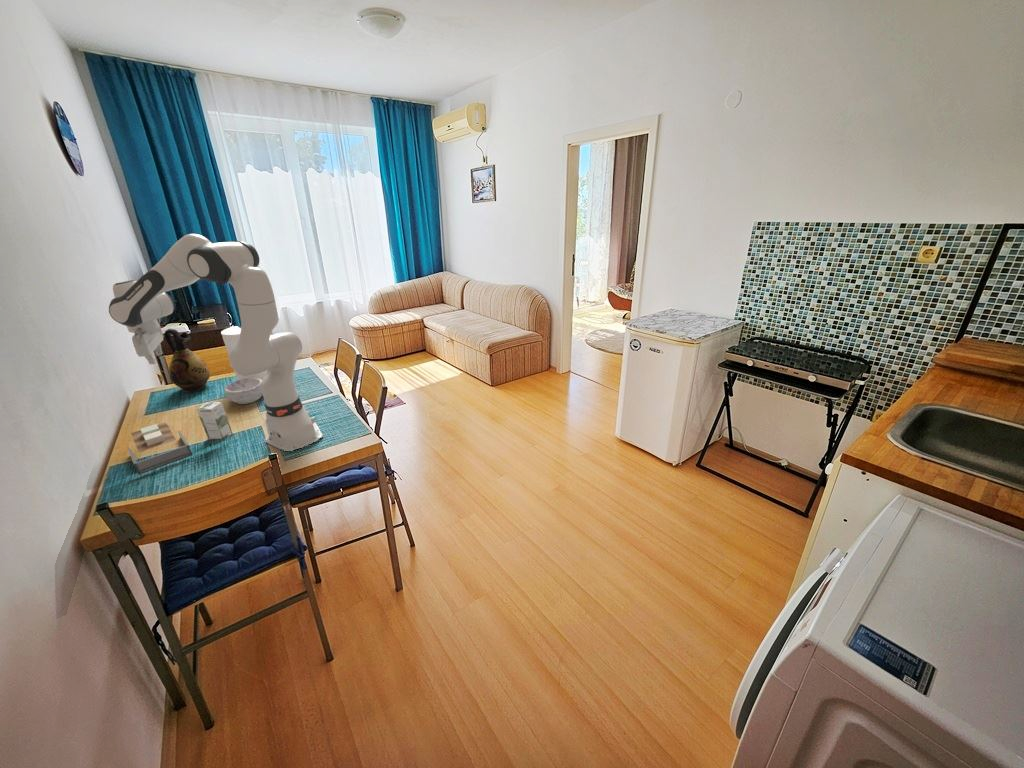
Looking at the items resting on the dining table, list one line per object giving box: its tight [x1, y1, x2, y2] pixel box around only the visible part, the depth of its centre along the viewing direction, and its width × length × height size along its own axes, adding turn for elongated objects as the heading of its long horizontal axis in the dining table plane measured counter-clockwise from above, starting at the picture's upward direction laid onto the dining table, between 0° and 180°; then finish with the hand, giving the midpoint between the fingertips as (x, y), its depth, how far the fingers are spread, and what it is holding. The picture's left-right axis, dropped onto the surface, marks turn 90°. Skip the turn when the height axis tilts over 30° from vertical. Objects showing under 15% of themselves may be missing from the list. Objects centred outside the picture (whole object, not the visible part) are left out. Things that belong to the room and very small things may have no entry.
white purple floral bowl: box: [224, 378, 263, 405], centre depth 186 cm, size 15×15×8 cm
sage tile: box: [140, 423, 160, 436], centre depth 158 cm, size 5×5×2 cm
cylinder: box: [220, 325, 268, 381], centre depth 199 cm, size 17×17×28 cm
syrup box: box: [196, 401, 233, 440], centre depth 154 cm, size 6×6×14 cm
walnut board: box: [130, 422, 177, 453], centre depth 157 cm, size 20×11×2 cm, turn 47°
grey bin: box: [127, 430, 194, 476], centre depth 146 cm, size 15×15×4 cm
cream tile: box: [144, 431, 165, 446], centre depth 153 cm, size 5×5×2 cm
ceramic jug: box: [163, 328, 211, 393], centre depth 194 cm, size 17×15×30 cm
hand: (156, 359), depth 156 cm, fingers open, 8 cm apart
